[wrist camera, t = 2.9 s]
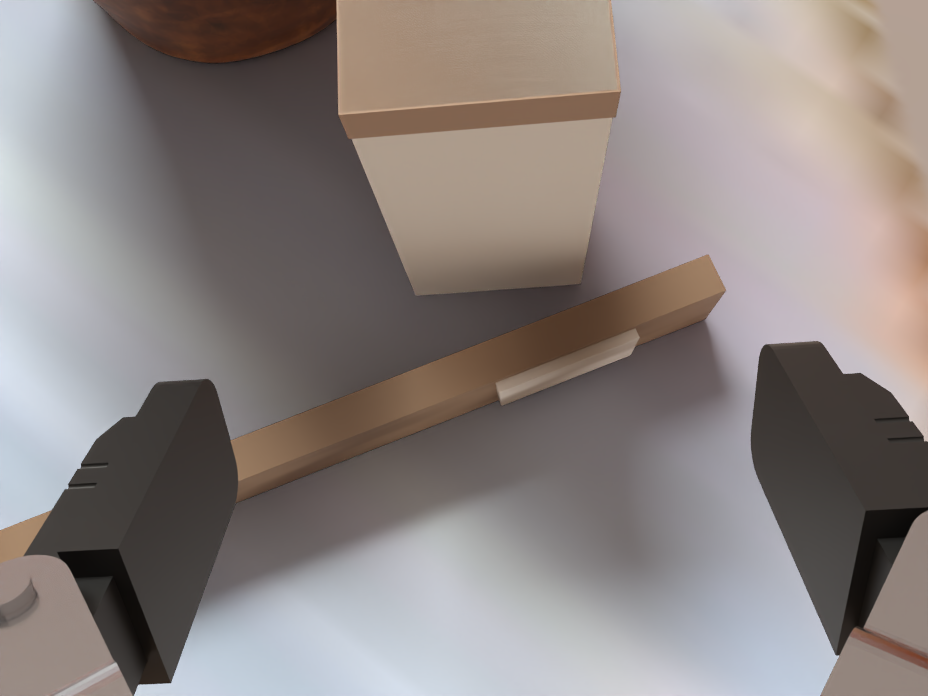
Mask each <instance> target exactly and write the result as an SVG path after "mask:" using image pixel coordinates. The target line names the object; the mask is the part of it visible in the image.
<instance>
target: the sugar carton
mask: <svg viewBox="0 0 928 696" xmlns="http://www.w3.org/2000/svg"><path fill="white" fill-rule="evenodd" d="M336 2H337V61H338V115H339V118H340V120H341V122H342V125H343V127H344V130H345V132H346V135H347V137H348V139H352V141H353V144H354V146H355V148H356V151H357V153H358V156H359V158H360V161H361V163H362V166H363V168H364V171H365V173H366V175H367V178H368V180H369V183H370V185H371V188H372V190H373V193H374V195H375V197H376V200H377V202H378V205H379V207H380V210H381V212H382V215H383V217H384V219H385V222H386V224H387V227H388V229H389V232H390V234H391V237H392V239H393V242H394V244H395V246H396V249H397V251H398V254H399V256H400V259H401V261H402V264H403V266H404V268H405V271H406V273H407V276H408V278H409V281H410V283H411V286H412V288H413V290H414V293H415V295H416V296H421V295H435V294H449V293H463V292H477V291H491V290H505V289H519V288H533V287H547V286H561V285H575V284H581V280H582V274H583V269H584V264H585V259H586V254H587V248H588V243H589V238H590V233H591V228H592V222H593V217H594V212H595V207H596V201H597V196H598V191H599V186H600V181H601V175H602V170H603V165H604V160H605V155H606V149H607V144H608V139H609V134H610V128H611V123H612V118H613V117H616V113H617V108H618V103H619V98H620V93H621V89H620V80H619V70H618V61H617V52H616V43H615V34H614V25H613V15H612V6H611V0H336Z"/></svg>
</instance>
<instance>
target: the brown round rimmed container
mask: <svg viewBox="0 0 928 696" xmlns="http://www.w3.org/2000/svg"><path fill="white" fill-rule="evenodd" d="M93 1H94V2H95V3H97V4H98V5H99V6H100V7H102V8H103V9H104V10H105V11H106V12H107V13H108V14H109V15H110V16H111V17H112V18H113V19H114V20H115V21H116V22H117V23H119V24H120V25H121V26H122V27H123V28H124V29H125V30H126V31H128V32H129V33H130V34H131V35H133V36H134V37H135V38H137V39H138V40H140V41H141V42H143V43H144V44H146V45H148V46H150V47H151V48H153V49H155V50H158V51H160V52H162V53H165V54H167V55H170V56H173V57H177V58H181V59H185V60H190V61H196V62H204V63H225V62H234V61H239V60H245V59H249V58H253V57H257V56H262V55H265V54H268V53H271V52H274V51H277V50H281V49H284V48H286V47H288V46H291V45H294V44H296V43H299V42H301V41H303V40H305V39H307V38H309V37H311V36H313V35H315V34H316V33H318V32H319V31H321V30H323V29H324V28H326V27H327V26H328V25H330V24H331V23H332V22H333V21H334V20H336V19H337V2H336V0H93Z"/></svg>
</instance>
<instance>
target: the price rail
mask: <svg viewBox="0 0 928 696" xmlns="http://www.w3.org/2000/svg"><path fill="white" fill-rule="evenodd" d="M725 291H726V289H725V287H724V285H723V283H722V281H721V279H720V277H719V275H718V273H717V271H716V269H715V267H714V265H713V263H712V261H711V259H710V257H709V255H705V256H703V257H700V258H698V259H695V260H693V261H690V262H687V263H685V264H682V265H680V266H677V267H675V268H672V269H669V270H667V271H664V272H662V273H659V274H657V275H654V276H652V277H649V278H646V279H644V280H641V281H639V282H636V283H634V284H631V285H628V286H626V287H623V288H621V289H618V290H616V291H613V292H610V293H608V294H605V295H603V296H600V297H598V298H595V299H593V300H590V301H587V302H585V303H582V304H580V305H577V306H575V307H572V308H569V309H567V310H564V311H562V312H559V313H557V314H554V315H551V316H549V317H546V318H544V319H541V320H539V321H536V322H534V323H531V324H528V325H526V326H523V327H521V328H518V329H516V330H513V331H510V332H508V333H505V334H503V335H500V336H498V337H495V338H492V339H490V340H487V341H485V342H482V343H480V344H477V345H474V346H472V347H469V348H467V349H464V350H462V351H459V352H457V353H454V354H451V355H449V356H446V357H444V358H441V359H439V360H436V361H433V362H431V363H428V364H426V365H423V366H421V367H418V368H415V369H413V370H410V371H408V372H405V373H403V374H400V375H398V376H395V377H392V378H390V379H387V380H385V381H382V382H380V383H377V384H374V385H372V386H369V387H367V388H364V389H362V390H359V391H356V392H354V393H351V394H349V395H346V396H344V397H341V398H339V399H336V400H333V401H331V402H328V403H326V404H323V405H321V406H318V407H315V408H313V409H310V410H308V411H305V412H303V413H300V414H297V415H295V416H292V417H290V418H287V419H285V420H282V421H279V422H277V423H274V424H272V425H269V426H267V427H264V428H262V429H259V430H256V431H254V432H251V433H249V434H246V435H244V436H241V437H238V438H236V439H233V440H231V444H232V448H233V452H234V455H235V459H236V463H237V470H238V493H237V499H236V503H237V502H240V501H243V500H245V499H248V498H250V497H253V496H255V495H258V494H260V493H263V492H266V491H268V490H271V489H273V488H276V487H278V486H281V485H283V484H286V483H289V482H291V481H294V480H296V479H299V478H301V477H304V476H306V475H309V474H312V473H314V472H317V471H319V470H322V469H324V468H327V467H329V466H332V465H334V464H337V463H340V462H342V461H345V460H347V459H350V458H352V457H355V456H357V455H360V454H363V453H365V452H368V451H370V450H373V449H375V448H378V447H380V446H383V445H386V444H388V443H391V442H393V441H396V440H398V439H401V438H403V437H406V436H409V435H411V434H414V433H416V432H419V431H421V430H424V429H426V428H429V427H431V426H434V425H437V424H439V423H442V422H444V421H447V420H449V419H452V418H454V417H457V416H460V415H462V414H465V413H467V412H470V411H472V410H475V409H477V408H480V407H483V406H485V405H488V404H490V403H493V402H495V401H498V400H499V401H500V404H501V406H503V405H505V404H508V403H510V402H513V401H515V400H518V399H521V398H523V397H526V396H528V395H531V394H533V393H536V392H538V391H541V390H544V389H546V388H549V387H551V386H554V385H556V384H559V383H561V382H564V381H566V380H569V379H572V378H574V377H577V376H579V375H582V374H584V373H587V372H589V371H592V370H595V369H597V368H600V367H602V366H605V365H607V364H610V363H612V362H615V361H617V360H620V359H623V358H625V357H628V356H630V355H631V354H632V352H633V350H634V348H635V347H636V346H638V345H641V344H643V343H646V342H648V341H651V340H654V339H656V338H659V337H661V336H664V335H666V334H669V333H671V332H674V331H677V330H679V329H682V328H684V327H687V326H689V325H692V324H694V323H697V322H700V321H702V320H705V319H706V318H707V316H708V315H709V313H710V312H711V311H712V309H713V308H714V306H715V305H716V304H717V302H718V301H719V300H720V298H721V297H722V295H723V294H724V293H725ZM51 511H52V510H51ZM51 511H49V512H46V513H43V514H41V515H38V516H36V517H33V518H31V519H28V520H25V521H23V522H20V523H18V524H15V525H13V526H10V527H8V528H5V529H2V530H0V563H3V562H5V561H8V560H11V559H14V558H18V557H23V556H24V554H25V552H26V551H27V549H28V548H29V546H30V544H31V543H32V541H33V540H34V538H35V536H36V535H37V533H38V532H39V530H40V528H41V527H42V525H43V524H44V522H45V520H46V519H47V517H48V516H49V514H50V512H51Z"/></svg>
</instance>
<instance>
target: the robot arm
mask: <svg viewBox="0 0 928 696" xmlns="http://www.w3.org/2000/svg"><path fill="white" fill-rule="evenodd" d="M923 437H924V436H923V435H922V433H921V432H920V431H919V429H918V428H917V427H916V425H915V424H914V423H913V421H911V422H910V421H909V416H908V415H907V413H906V412H905V411H904V409H903V408H902V407H901V405H900V404H899V403H898V401H897V400H896V399H895V397H894V396H893V395H892V393H891V392H889V391H888V390H886V389H885V388H883V387H881V386H880V385H878V384H877V383H875V382H874V381H872V380H871V379H869V378H867V377H866V376H864V375H863V374H861V373H855V374H843V373H842V372H841V370H840V369H839V367H838V366H837V364H836V363H835V361H834V360H833V358H832V357H831V355H830V354H829V352H828V351H827V350H826V348H825V347H824V345H823V344H822V343H821V342H818V341H812V342H797V343H781V344H767V345H764V346H763V348H762V350H761V352H760V357H759V364H758V373H757V382H756V391H755V400H754V410H753V419H752V428H751V451H752V458H753V464H754V468H755V471H756V474H757V477H758V479H759V482H760V484H761V486H762V488H763V491H764V493H765V495H766V497H767V500H768V502H769V504H770V507H771V509H772V511H773V513H774V516H775V518H776V520H777V523H778V525H779V527H780V529H781V532H782V534H783V536H784V538H785V541H786V543H787V545H788V548H789V550H790V552H791V554H792V557H793V559H794V561H795V564H796V566H797V568H798V570H799V573H800V575H801V577H802V579H803V582H804V584H805V586H806V589H807V591H808V593H809V595H810V598H811V600H812V602H813V605H814V607H815V609H816V611H817V614H818V616H819V618H820V620H821V623H822V625H823V627H824V630H825V632H826V634H827V636H828V639H829V641H830V643H831V646H832V648H833V650H834V652H835V655H840V656H839V658H838V660H837V662H836V664H835V666H834V668H833V670H832V672H831V675H830V677H829V679H828V681H827V683H826V685H825V687H824V689H823V691H822V693H821V695H820V696H928V442H927V441H925V442H924V438H923ZM68 485H69V488H68V489H65V490H64V492H63V493H62V495H61V497H60V498H59V500H58V501H57V503H56V505H55V506H54V508H53V509H52V511H51V512H50V514H49V516H48V517H47V519H46V520H45V522H44V524H43V525H42V527H41V528H40V530H39V532H38V533H37V535H36V536H35V538H34V540H33V541H32V543H31V544H30V546H29V548H28V549H27V551H26V552H25V554H24V556H23V557H18V558H14V559H11V560H8V561H5V562H3V563H0V696H134V694H135V691H136V689H137V686H138V685H140V684H162V683H171V681H172V679H173V676H174V673H175V670H176V667H177V665H178V662H179V659H180V656H181V654H182V651H183V648H184V645H185V642H186V640H187V637H188V634H189V631H190V628H191V626H192V623H193V620H194V617H195V615H196V612H197V609H198V606H199V603H200V601H201V598H202V595H203V592H204V589H205V587H206V584H207V581H208V578H209V576H210V573H211V570H212V567H213V564H214V562H215V559H216V556H217V553H218V550H219V548H220V545H221V542H222V539H223V537H224V534H225V531H226V528H227V525H228V523H229V520H230V517H231V514H232V511H233V509H234V506H235V503H236V499H237V493H238V470H237V463H236V459H235V455H234V452H233V448H232V444H231V441H230V437H229V434H228V430H227V426H226V423H225V419H224V415H223V412H222V408H221V405H220V401H219V397H218V394H217V391H216V388H215V386H214V384H213V383H212V382H211V381H210V380H209V379H199V380H184V381H168V382H158V383H156V384H155V385H154V387H153V388H152V390H151V391H150V393H149V395H148V397H147V398H146V400H145V402H144V403H143V405H142V407H141V409H140V410H139V412H138V414H137V415H136V417H123V418H122V419H121V420H120V421H118V422H117V423H116V424H115V425H113V426H112V427H111V428H110V429H109V430H107V431H106V432H105V433H104V434H102V435H101V436H100V437H99V438H98V439H96V441H95V442H94V444H93V445H92V447H91V449H90V450H89V452H88V453H87V455H86V457H85V458H84V460H83V461H82V463H81V469H77V471H76V473H75V474H74V476H73V477H72V479H71V481H70V482H69V484H68Z"/></svg>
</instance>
